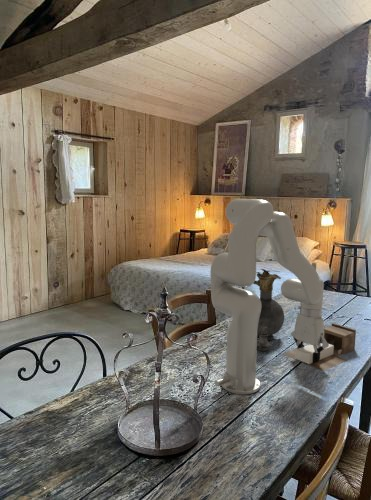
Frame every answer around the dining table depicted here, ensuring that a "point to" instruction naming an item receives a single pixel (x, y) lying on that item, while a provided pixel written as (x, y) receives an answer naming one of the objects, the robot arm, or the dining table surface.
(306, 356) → the soap bar
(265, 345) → the salt shaker
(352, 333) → the open wooden box
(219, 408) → the dining table surface
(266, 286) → the pitcher
